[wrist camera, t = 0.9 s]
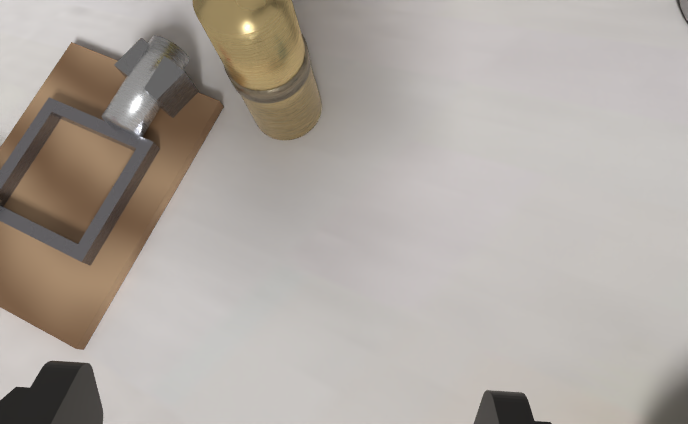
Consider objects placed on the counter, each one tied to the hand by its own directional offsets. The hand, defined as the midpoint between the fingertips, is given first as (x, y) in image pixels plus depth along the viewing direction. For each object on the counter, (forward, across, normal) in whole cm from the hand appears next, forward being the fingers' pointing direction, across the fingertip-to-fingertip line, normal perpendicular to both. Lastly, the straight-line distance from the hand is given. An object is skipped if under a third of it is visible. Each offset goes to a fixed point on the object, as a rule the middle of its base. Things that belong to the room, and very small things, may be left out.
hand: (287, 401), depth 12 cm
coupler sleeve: (+26, +2, +5) cm, 27 cm away
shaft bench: (+23, +15, +10) cm, 29 cm away
